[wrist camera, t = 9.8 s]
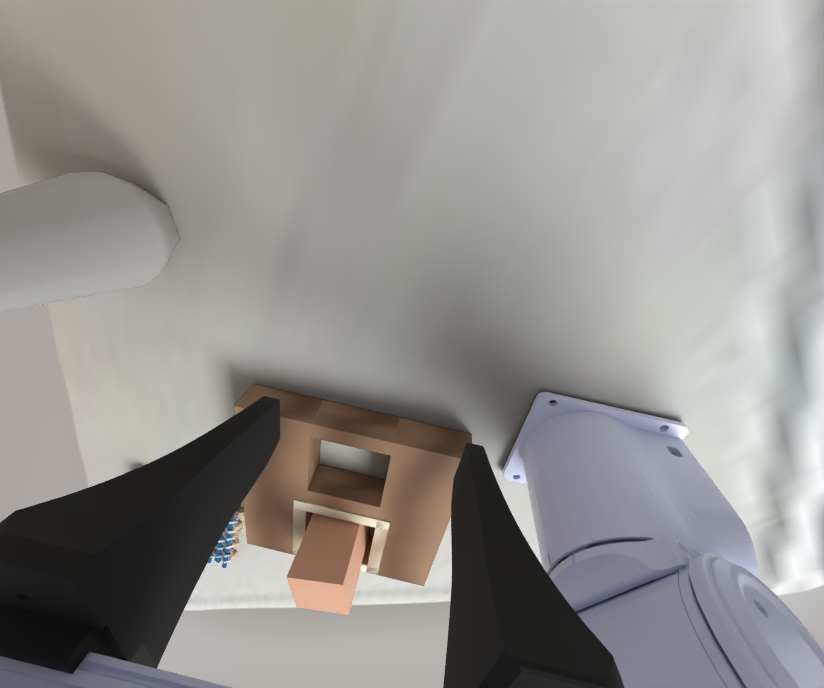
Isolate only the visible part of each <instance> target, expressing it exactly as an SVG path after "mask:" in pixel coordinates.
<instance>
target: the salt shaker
mask: <svg viewBox="0 0 824 688" xmlns="http://www.w3.org/2000/svg"><path fill="white" fill-rule="evenodd" d="M179 240H180V237H179V235H178V232H177V229H176V226H175V223H174V220H173V218H172V215H171V212H170V209H169V206H167V205H166V204H164V203H163V202H161V201H160V200H158V199H157V198H156V197H154V196H153V195H151V194H150V193H148V192H147V191H145V190H144V189H142V188H141V187H140V186H138V185H136V184H133V183H130V182H128V181H125V180H122V179H120V178H117V177H114V176H112V175H109V174H106V173H103V172H74V173H67V174H64V175H60V176H57V177H54V178H50V179H47V180H44V181H40V182H37V183H34V184H30V185H27V186H24V187H20V188H17V189H14V190H10V191H7V192H3V193H1V194H0V313H2V312H7V311H12V310H17V309H23V308H28V307H34V306H38V305H44V304H50V303H55V302H60V301H66V300H71V299H76V298H82V297H87V296H92V295H98V294H103V293H108V292H114V291H119V290H124V289H130V288H135V287H140V286H143V285H145V284H146V283H148V282H149V281H150V280H152V279H153V278H155V277H156V276H157V275H159V274H160V273H162V272H163V270H164V268H165V266H166V264H167V261H168V259H169V257H170V255H171V252H172V250H173V249H174V247H175V246H176V244H177V243H178V242H179Z"/></svg>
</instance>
